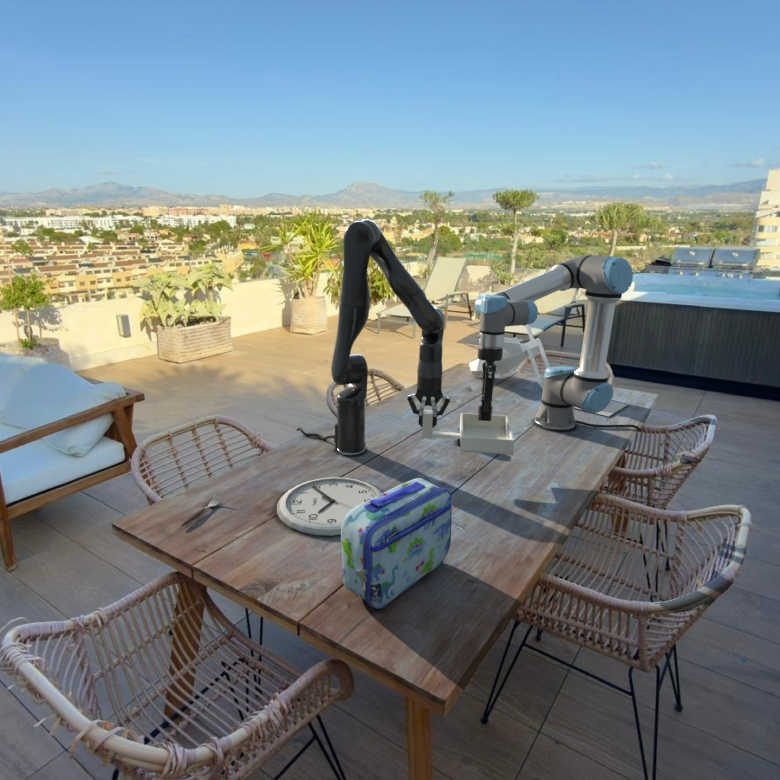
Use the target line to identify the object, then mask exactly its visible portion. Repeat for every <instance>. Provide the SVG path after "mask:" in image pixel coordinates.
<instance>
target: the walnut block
mask: <svg viewBox="0 0 780 780" xmlns="http://www.w3.org/2000/svg"><path fill="white" fill-rule="evenodd" d="M481 413H482V402H481V401H479V402H478V411H477V414H478V420H481ZM492 415H493V402H491V411H490V421H491V417H492Z"/></svg>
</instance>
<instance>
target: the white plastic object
mask: <svg viewBox="0 0 780 780" xmlns="http://www.w3.org/2000/svg"><path fill="white" fill-rule="evenodd" d="M524 327H525V329H526V331H527V335H528V338H529V341H527V342H524V343H522V342H520V341H519V338H518V337H516V336H514V337H510V338H506V339H504V345H503V347H502V349H503V354H502V359H501V360H500V361H494V364H495V366H496V371H495V376H496V375H500V376H505V375H507V374H509V373H511V370H513V369H514V368H515V367H517V366H518V365H519V364H521V363H523V362H524V361H526V360H527V359H528V357H529V360H530V363H531V366H532V369H533V372H534V375H535V379H536V382H537V383H538V385H539V386H540V388H541V389H542V390H543V380H542V379H543V378H542V377H541V373H540V371H539V367H538V364H537V362H536V359H535V355H534V354H537V353H540V354H541V357H542V360H543V363H544V366H545V370H546V369H547V368H549V367H551V365H550V363H549V360H548V356H547V354H546V352H545V351H546V350H545V348H544V346H543V342H542V341H541V339H540V337H537V338H535V337H534V334H533V330H532V328H531V324H528V325H524ZM484 362H485V360H480V359H479V358H477V359H475V360H473V361H470V362H468V366H469V369H470V373H471V374H472V375H473V377H475V378H477V377H483V375H482V373H483V369H482V365H483V364H484Z"/></svg>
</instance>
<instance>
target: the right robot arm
mask: <svg viewBox="0 0 780 780" xmlns="http://www.w3.org/2000/svg"><path fill="white" fill-rule="evenodd" d="M633 272H634V271H633V268H632V265H631V264H630V263H629V261H628V260H627V259H625V258H623V257H618V256H614V255H611V256H610V255H609V256H608V255H593V254H584V255H583V254H582V255H579V256H576V257H573V258H570V259H567V260H565V261H562V262H560V263H558V264H555V265H554V266H552V267H551V269H550V270H549V271H546V272H544V273H541V274H539V275H537V276H534V277H532V278H529V279H527V280H525V281H523V282H520V283H518V284H516V285H513V286H511V287H508V288H506V289H503V290H502V291H499V292H497V293H494V294H481V295H479V296H478V297H477V299H476V300H475V303H474V312H475V314H476V315H477V316H479V319H480V320H479V335H477V336H476V339H478V348H477V359H480V360H485V362H484V364H483V365H482V369H483V373H482V375H483V376H482V386H481V399H480V402H482V413H481V421H490V411H491V403H493V393H494V392H493V391H494V381H495V378H496V377H495V376H496V375H495V371H496V366H495V364H494V361H500V360H501V359H502V354H503V349H502V347H503V345H504V340H505V331H506V328H507V327H516V326H523V327H525V325H528V324H529V325H531V324H534V323H535V322H536V321H537V319H538V316H539V315H538V314H539V310H538V306H537V304H536V303H535V302H536V301H537V300H540V299H542V298H545V297H547V296H549V295H551V294H554V293H556V292H558V291H560V292H565V291H567V290H568V291H569V290H570V289H583V290H585V293H584V294H585V295H584V296H585V298H586V299H587V300H588V305H587V312H586V318H585V324H584V333H583V339H582V346H581V352H580V353H581V354H580V360H579V366H578V368H577V367H574V366H567V365H557V366H550V367H549V368H547V369H546V368H545V370H544V375H543V378H542V379H543V380H542V382H543V389H542V392H541V402H540V405H539V407H538V410H537V411H536V413H535V417H534V424H535V425H536V426H537V427H539V428H542V429H544V430H549V431H556V432H567V431H572V430H574V429H575V428H576V424H578V425H583V426H587V427H591V428H592V427H593V428H604V429H605V428H607V429H609V428H610V429H611V428H633V429H636V430H637V431H640V432H641V431H642V429H641V427H639V426H638V425H635V424H596V423H588V422H584V421H580V420H577V419H576V418H575V417H576V416H575V413H574V407H577V408H580V409H582V410H581V411H584V412H588V411H589V412H588V413H592V414H595V413H597V412H600V411H602V410H603V409H605V408H606V406H608V404H609V403H610V401H612V399H613V396H614V388H613V385H611V384H610V383H609V382H608V380H609V375H608V373H607V372H606V365H607V359H608V352H609V347H610V340H611V334H612V327H613V322H614V315H615V310H616V304H617V303H618V302H619V301H620V300H621V299H622V296H623V294H626V293H627V292H628V291H629V290H630V287H631V286H632V283H633V280H634V279H633V277H634V274H633ZM580 409H579V410H580Z"/></svg>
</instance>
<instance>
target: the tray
mask: <svg viewBox="0 0 780 780" xmlns="http://www.w3.org/2000/svg"><path fill="white" fill-rule="evenodd" d="M459 419H460V420H459V428H460V433H458V432H453V431H438V430H436V431H435V430H433V428H432V422H433V410H432V409H424V410H423V427H421V428H422V430H421V437H422V439H433V438H434V439H435V438H439V439H450V440H451V439H453V440H457V439H460V445H459V446H460V448H459V449H460V452H462V453H463V452H464V453H480V454H493V455H494V454H497V455H508V456H509V455H510V456H513V455H514V447H515V446H514V445H515V439H514V435H513V434H514V433H513V431H512V427H511V424H510V420H509V417H508V415H504V414H492V417H491V421H481V420H478V413H469V412H460V417H459Z"/></svg>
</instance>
